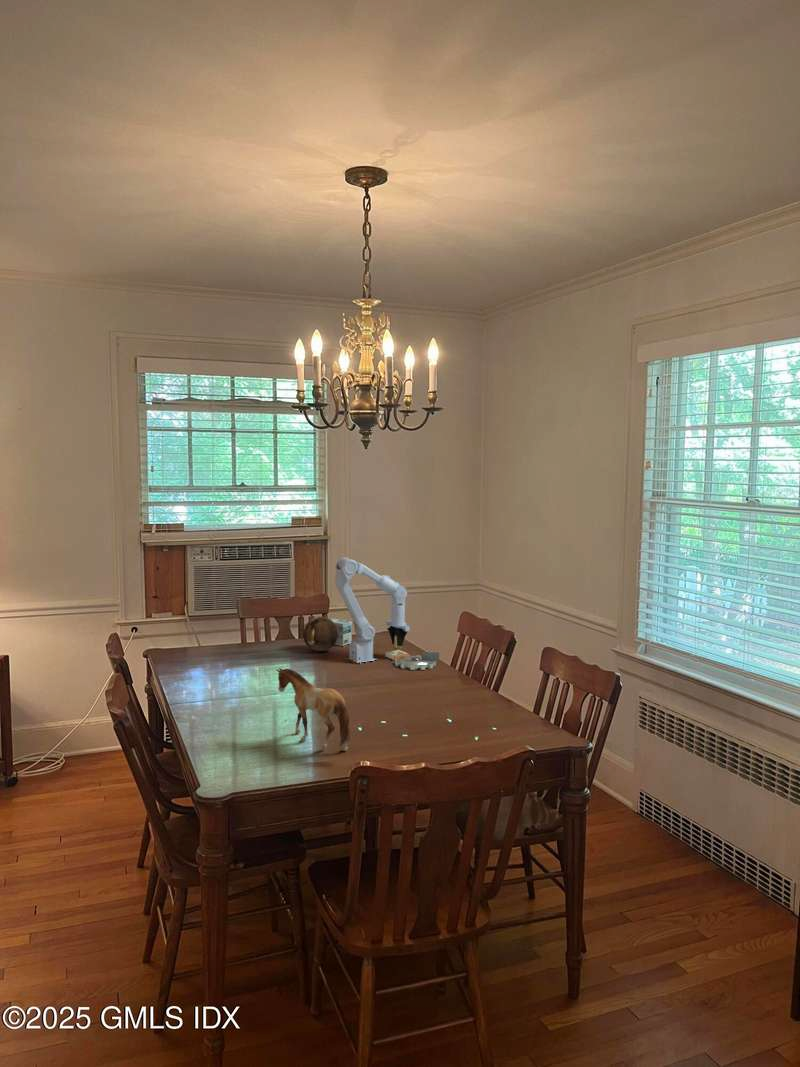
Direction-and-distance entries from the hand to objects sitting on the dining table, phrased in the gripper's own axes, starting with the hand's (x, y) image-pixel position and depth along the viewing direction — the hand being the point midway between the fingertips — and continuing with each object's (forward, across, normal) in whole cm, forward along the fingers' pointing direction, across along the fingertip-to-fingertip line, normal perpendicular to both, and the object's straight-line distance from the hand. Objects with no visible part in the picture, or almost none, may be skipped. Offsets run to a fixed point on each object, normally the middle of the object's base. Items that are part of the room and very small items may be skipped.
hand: (397, 645), depth 320 cm
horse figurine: (+6, -70, +79) cm, 106 cm away
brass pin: (+2, 0, 0) cm, 2 cm away
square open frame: (+6, 0, 0) cm, 6 cm away
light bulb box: (+6, +34, +9) cm, 35 cm away
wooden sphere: (+6, +27, +22) cm, 35 cm away
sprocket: (+6, -13, 0) cm, 14 cm away
